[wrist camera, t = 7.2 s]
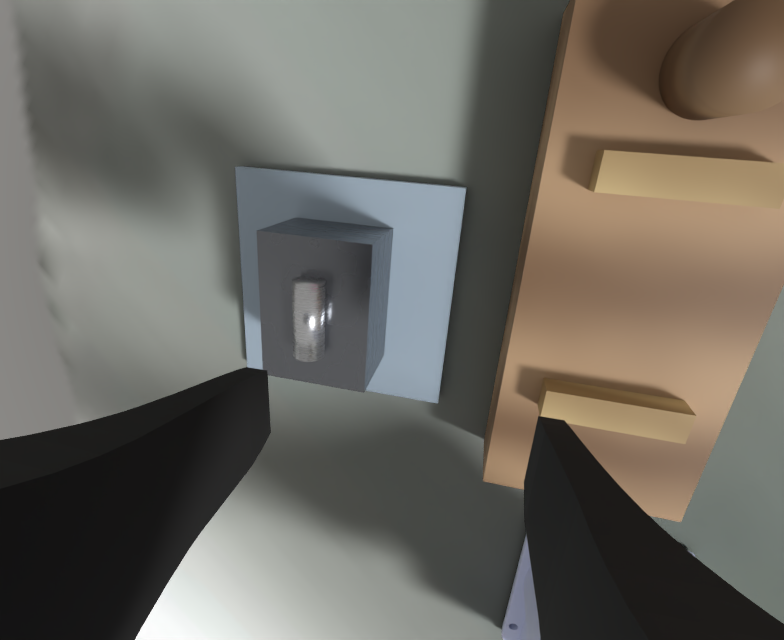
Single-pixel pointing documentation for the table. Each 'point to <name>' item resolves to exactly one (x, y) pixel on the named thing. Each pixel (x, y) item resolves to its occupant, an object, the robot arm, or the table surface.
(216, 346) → the table surface
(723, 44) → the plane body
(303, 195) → the rubber mat
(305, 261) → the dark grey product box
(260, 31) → the table surface
